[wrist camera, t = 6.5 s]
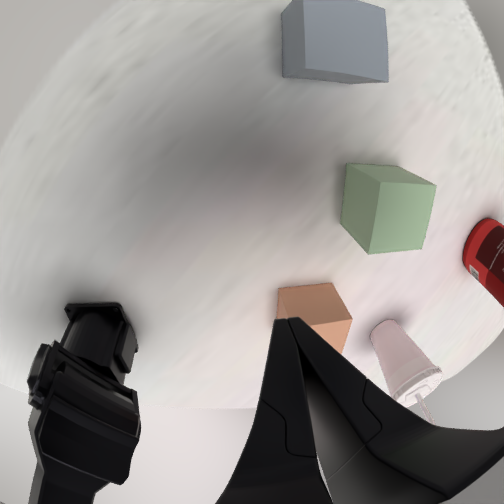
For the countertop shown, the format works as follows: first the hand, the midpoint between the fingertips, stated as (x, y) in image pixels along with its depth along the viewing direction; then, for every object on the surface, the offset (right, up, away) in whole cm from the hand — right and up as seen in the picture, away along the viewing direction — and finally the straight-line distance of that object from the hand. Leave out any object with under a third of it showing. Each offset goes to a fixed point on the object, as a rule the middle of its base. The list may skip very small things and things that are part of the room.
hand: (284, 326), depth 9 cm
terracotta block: (+4, -3, +17) cm, 17 cm away
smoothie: (+15, -7, +21) cm, 26 cm away
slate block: (+3, +16, +5) cm, 18 cm away
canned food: (+27, +4, +16) cm, 32 cm away
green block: (+8, +7, +12) cm, 16 cm away
